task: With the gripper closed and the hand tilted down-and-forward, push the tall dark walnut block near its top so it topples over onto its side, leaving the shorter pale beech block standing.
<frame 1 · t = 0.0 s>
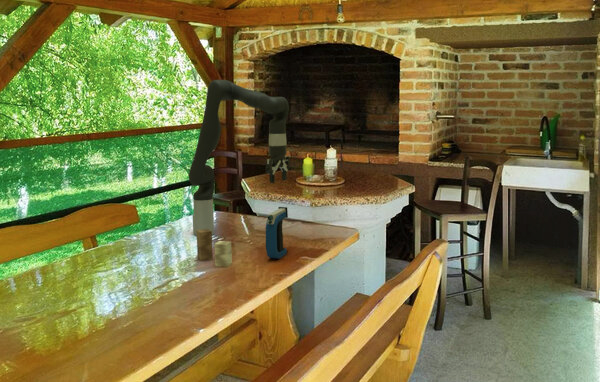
hand: (278, 181, 270), 29 cm above the table, tool pointing down, fingers open, 8 cm apart
beech block: (223, 264, 250), on the table
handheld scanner: (277, 257, 261), on the table
walnut block: (205, 258, 258), on the table
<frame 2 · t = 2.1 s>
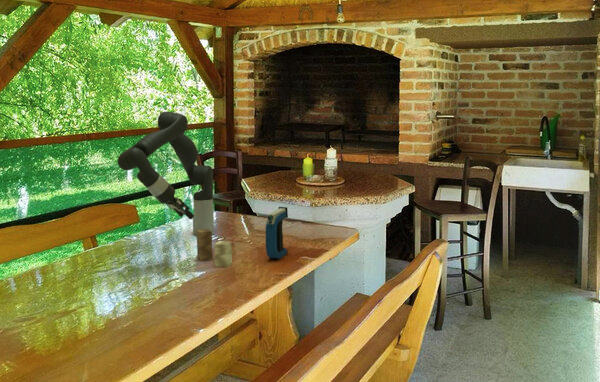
hand: (187, 216, 250), 19 cm above the table, tool tilted 40°, fingers open, 8 cm apart
nothing on the table moved.
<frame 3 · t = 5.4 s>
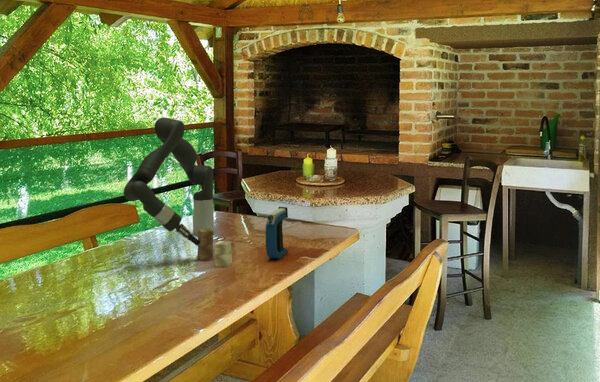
hand: (198, 243, 256), 7 cm above the table, tool tilted 45°, fingers closed
nothing on the table moved.
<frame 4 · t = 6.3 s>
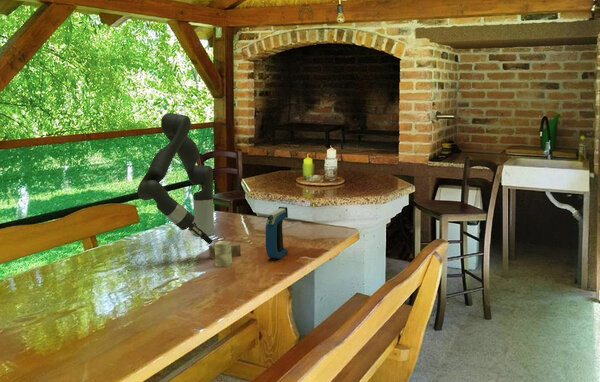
hand: (210, 242, 258), 7 cm above the table, tool tilted 45°, fingers closed
walnut block: (211, 252, 259), point 2 cm above the table, tilted 90°
everything else where it was.
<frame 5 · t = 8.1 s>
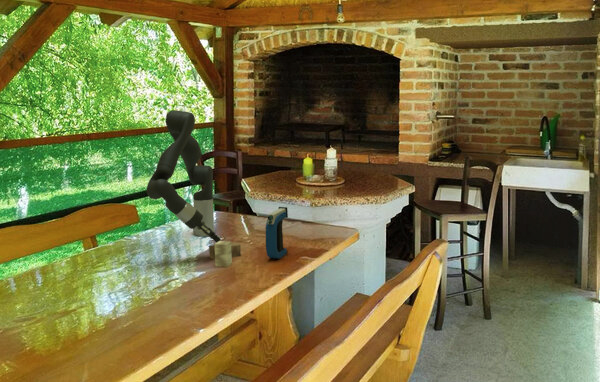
hand: (218, 240, 260), 7 cm above the table, tool tilted 45°, fingers closed
nothing on the table moved.
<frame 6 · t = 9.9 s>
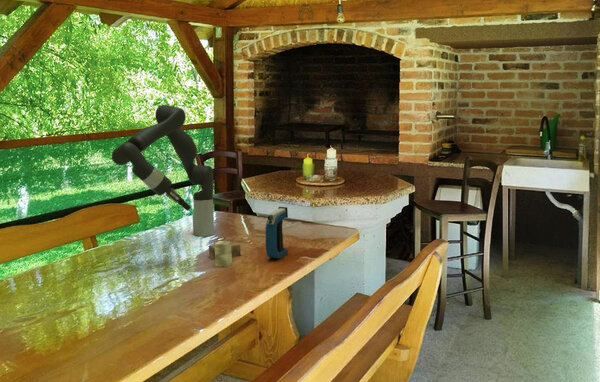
hand: (188, 208, 252), 22 cm above the table, tool tilted 45°, fingers closed
nothing on the table moved.
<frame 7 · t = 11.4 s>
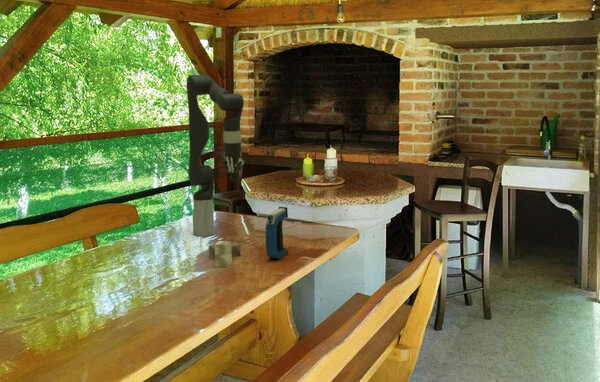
hand: (233, 180, 271), 30 cm above the table, tool pointing down, fingers closed
nothing on the table moved.
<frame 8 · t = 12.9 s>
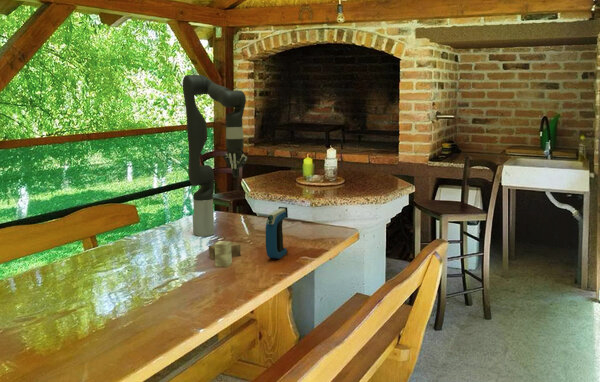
hand: (235, 177, 273), 31 cm above the table, tool pointing down, fingers closed
nothing on the table moved.
at the end: walnut block tilted 90°; walnut block inside the target area (7.4 cm from its centre), point 2.2 cm above the table; beech block tilted 0° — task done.
